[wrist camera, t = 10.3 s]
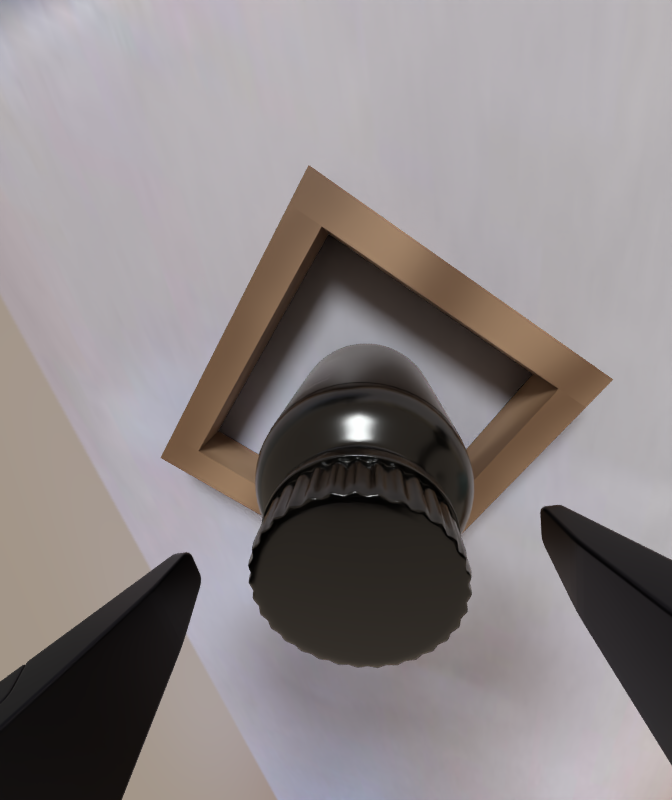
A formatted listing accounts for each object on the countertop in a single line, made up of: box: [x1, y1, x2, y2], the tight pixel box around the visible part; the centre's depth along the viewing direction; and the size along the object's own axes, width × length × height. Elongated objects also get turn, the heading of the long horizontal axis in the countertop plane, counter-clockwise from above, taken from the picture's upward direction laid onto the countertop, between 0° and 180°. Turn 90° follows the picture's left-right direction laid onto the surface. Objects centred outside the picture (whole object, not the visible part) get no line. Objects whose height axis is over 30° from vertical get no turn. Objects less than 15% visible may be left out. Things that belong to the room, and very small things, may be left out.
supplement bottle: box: [248, 344, 474, 668], centre depth 13 cm, size 7×7×12 cm
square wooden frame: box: [161, 166, 613, 533], centre depth 17 cm, size 15×15×2 cm
